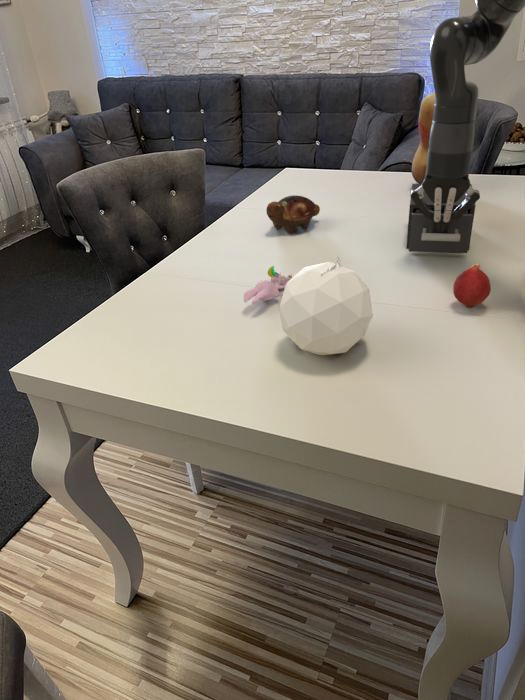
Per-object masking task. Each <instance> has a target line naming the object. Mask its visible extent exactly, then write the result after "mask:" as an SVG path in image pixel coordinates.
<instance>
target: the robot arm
mask: <svg viewBox="0 0 525 700" xmlns="http://www.w3.org/2000/svg"><path fill="white" fill-rule="evenodd" d="M475 6H476V8H477V10H476V11H475V12H474V13H472V14H471V15H464V16H455V17H454V16H453V17H449V18H446V19H444V20H443V21H441V22H440V23H439V25H437V27H436V28H435V30H434V33H433V35H432V37H431V41H430V46H429V62H430V68H431V75H432V76H431V77H432V83H433V89H434V92H435V104H434V114H433V122H432V127H431V131H430V138H429V148H428V158H427V168H426V176H425V178H424V180H423V182H422V185H421V186H420V187H418V188H417V189H413V190H412V191H410V198H412V200H413V201H414V203H415V204H416V205H417V207H418V208H419V210H420V211H421V212H422V214H423V215H424V217H425V218H427V219H431V220H433V230H432V233H440V234H448V226H449V222H450V221H451V220H453V219H456V220H457V219H459V218H460V217H461V216H462V215H463V214H464V213H465V212H466V211H467V210H468V209H469V208H470V207H471V206H472V205H473V204H474V203H475V204H476V203H477V202H478V201H479V200H480V199H481V194H480V191H479V190H478V189H475V188H473V186H472V187H471V186H470V184H471V180H470V177H469V175H470V167H471V163H472V162H471V161H472V154H473V147H474V143H475V140H474V139H475V131H476V129H475V127H476V125H475V124H476V116H477V115H476V114H477V108H478V102H479V101H478V100H479V87H478V85H477V84H476V83H475V82H472V81H468V80H467V79H466V71H465V66H469V65H475V64H478V63H480V62H482V61H484V60H485V59H487V58H488V57H489V56H490V55H491V54H492V53H493V52H494V51H495V50H496V49H497V47H498V46H499V45H500V43H501V42H502V41H503V38H504V37H505V35H506V33H507V32H508V30H509V28H510V27H511V25H512V23H513V21H514V20H515V18H516V16H517V15H518V14H520V12H521V11H522V10H523V9H524V8H525V0H475ZM423 191H425V192H426V194H427V195H428V197H429V198H430V200H431V201H432V202H433V203H434V211H432V210H431V209H430V208H429V206H428V205H427V204H426V202H425V201H424V199H423V198H424V193H423ZM466 191H467V193H466V195H465V198H466V199H465V200H464V201H463V202H462V203H461V204H460V205H459V206H458V207H457V208H456V209H455V210H454V211H452V208H453V204H454V203H455V202H457V201H458V200H459V199H460V198H461V197H462V195H463V194H464V193H465V192H466ZM443 203H445V208H444V213H443V219H441V204H443Z"/></svg>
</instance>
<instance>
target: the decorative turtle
mask: <svg viewBox="0 0 525 700" xmlns="http://www.w3.org/2000/svg"><path fill="white" fill-rule="evenodd" d="M320 211H321V208H320V206H319V205H318V203H317V204H316V203H315V202H314V201H313V200H311V199H310V198H308V197H306V196H302V195H297V194H295V195H294V194H293V195H288V196H285V197H283V198H281V199H280V200H279V201H271V202H269V203H268V204H267V206H266V211H265V212H266V216H267V217H268V219H269V220H270V221H271V222H272V225H273V227H274V228H275V229H276V230H281V229H282V228H283V229H284V230H285V232H286V233H287V234H289V235H292V234H294V233H295V231H296V230H297V229H298V227H299V228H301V229H302V230H308V227H309V226H310V223H311V221H312V219H313V218H314V217H316V216H318V215H319V214H320Z"/></svg>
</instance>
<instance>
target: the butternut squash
mask: <svg viewBox="0 0 525 700" xmlns="http://www.w3.org/2000/svg"><path fill="white" fill-rule="evenodd" d="M434 104H435V91H434V92H432V93H429V94H428V95H426V96H425V97H424V98H423V99H422V101H421V102H420V108H419V113H418V114H419V115H418V120H417V121H418V134H419V135H418V136H419V145H418V147H417V149H416V151H415V154H414V155H413V159H412V163H411V176H412V178H413V179H414V181H415V182H416V184H422V182H423V180H424V178H425V176H426V168H427V158H428V148H429V138H430V131H431V127H432V122H433V114H434Z"/></svg>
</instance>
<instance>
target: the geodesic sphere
mask: <svg viewBox="0 0 525 700" xmlns="http://www.w3.org/2000/svg"><path fill="white" fill-rule="evenodd" d="M278 309H279V310H278V311H279V315H280V316H279V317H280V323H281V328H282V331H283V332H284V334H286V335H287V336H288V337H289V339H290V340H292V342H293V343H294V344H295V345H296V346H297V347H298V348H299V349H300V350H302V351H306V352H309V353H311V354H316V355H318V356H328V355H330V356H331V355H337V354H344V353H347V352H348V351H349V350H350V349H351V348H353V346H354V345H356V344H357V343H358V342H359V341H360V340H361V339H362V338H363V337H364V336H365V335H366V332H367V330H368V327H369V325H370V323H371V321H372V319H373V317H374V312H373V307H372V300H371V291H370V288H369V287H368V285H367V284H366V283H365V282H364V281H363V280H362V279H361V277H360V276H359V275H358V274H357V273H356V271H355V270H352V269H349V268H347V267H345V266H342V261H340V257H337V258H336V263H335V262H332V261H327V262H322V263H317V264H312V265H307V266H304V267H303V268H302V269H300V271H298V272H297V273H296V274H295V275H294V276H292V279H290V280H289V281H288V282H287V283H286V286H285V288H283V293H282V297H281V300H280V304H279V306H278Z"/></svg>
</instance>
